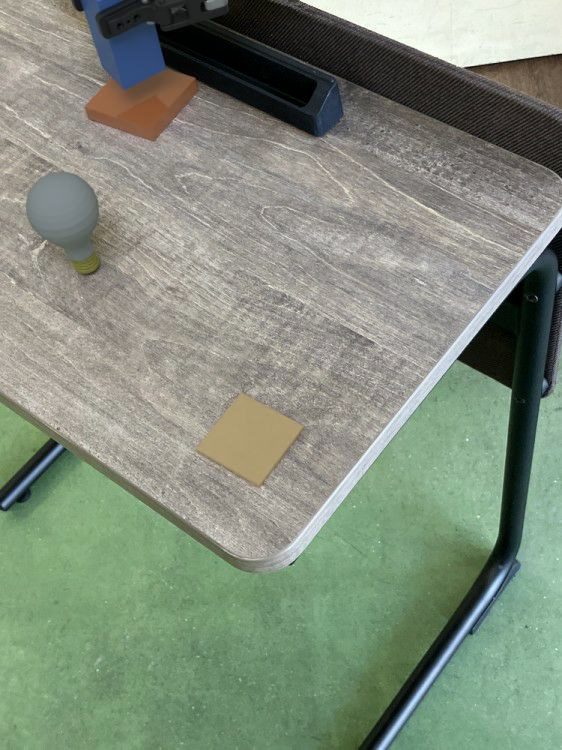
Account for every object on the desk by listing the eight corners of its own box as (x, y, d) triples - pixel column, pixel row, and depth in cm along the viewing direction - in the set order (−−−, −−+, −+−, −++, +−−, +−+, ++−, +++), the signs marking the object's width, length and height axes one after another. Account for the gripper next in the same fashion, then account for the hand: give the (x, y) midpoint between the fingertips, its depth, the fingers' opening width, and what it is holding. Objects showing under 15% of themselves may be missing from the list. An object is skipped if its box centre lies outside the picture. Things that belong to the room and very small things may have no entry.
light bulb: (48, 259, 80) (8, 172, 72) (109, 235, 81) (76, 147, 73) (66, 304, 77) (26, 219, 69) (129, 279, 78) (96, 192, 70)
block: (143, 46, 88) (118, -44, 81) (166, 69, 86) (143, -21, 79) (101, 67, 87) (73, -22, 80) (124, 90, 85) (97, 1, 78)
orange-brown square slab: (134, 70, 93) (130, 57, 92) (198, 90, 91) (195, 77, 89) (88, 118, 90) (83, 106, 89) (153, 141, 87) (150, 128, 86)
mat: (242, 394, 71) (241, 392, 70) (304, 428, 69) (303, 425, 68) (196, 451, 68) (195, 448, 68) (259, 488, 66) (258, 485, 66)
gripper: (205, -141, 85) (35, -63, 81) (296, -76, 77) (114, 13, 73) (218, -62, 91) (61, 14, 87) (304, 5, 84) (137, 92, 80)
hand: (86, 13), depth 80 cm, fingers closed on block, 4 cm apart
